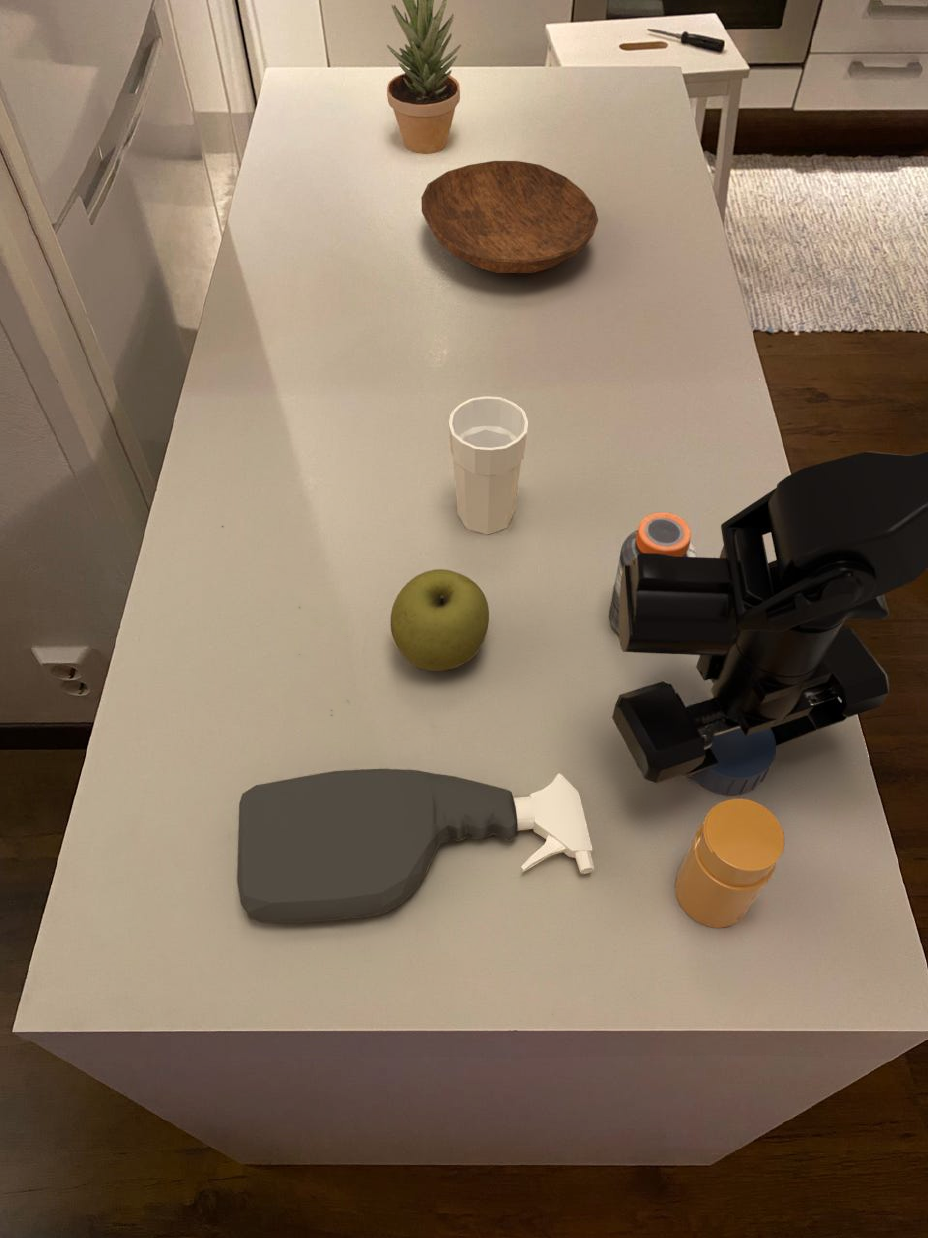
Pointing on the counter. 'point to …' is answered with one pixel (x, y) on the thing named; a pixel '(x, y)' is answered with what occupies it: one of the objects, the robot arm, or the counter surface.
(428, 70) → the potted plant
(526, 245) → the bowl
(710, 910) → the jar
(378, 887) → the spray bottle
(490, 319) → the counter surface
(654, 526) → the pill bottle
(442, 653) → the apple
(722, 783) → the jar lid
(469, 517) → the cup
